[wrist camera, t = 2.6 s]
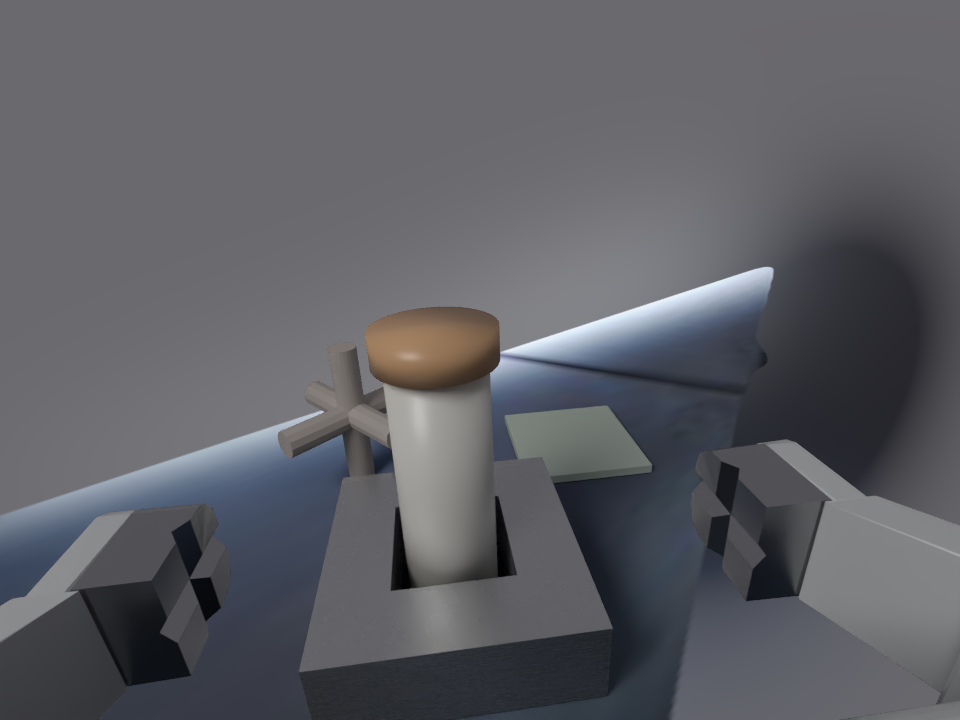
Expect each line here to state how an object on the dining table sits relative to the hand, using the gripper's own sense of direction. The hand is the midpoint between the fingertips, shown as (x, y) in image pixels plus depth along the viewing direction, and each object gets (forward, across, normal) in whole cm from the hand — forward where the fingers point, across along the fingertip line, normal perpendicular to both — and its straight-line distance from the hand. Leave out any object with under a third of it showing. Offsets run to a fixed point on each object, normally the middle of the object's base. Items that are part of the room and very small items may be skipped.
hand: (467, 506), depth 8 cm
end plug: (+12, 0, -16) cm, 20 cm away
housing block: (+12, 0, -16) cm, 20 cm away
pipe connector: (+24, -7, -16) cm, 30 cm away
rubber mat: (+25, +9, -16) cm, 32 cm away
